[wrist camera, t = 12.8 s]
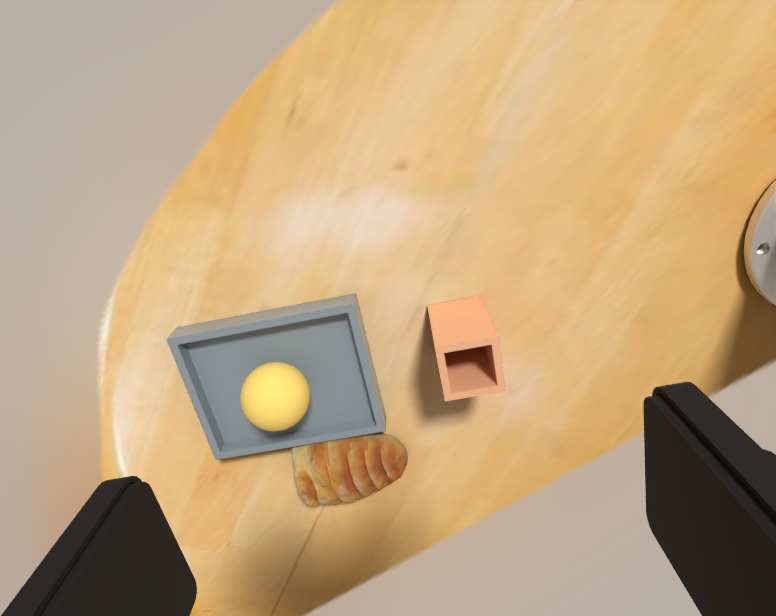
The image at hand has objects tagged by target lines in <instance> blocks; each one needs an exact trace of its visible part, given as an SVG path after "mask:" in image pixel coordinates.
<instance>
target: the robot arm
mask: <svg viewBox="0 0 776 616" xmlns="http://www.w3.org/2000/svg"><path fill="white" fill-rule="evenodd" d="M744 261H745V268H746V271H747V274H748V277H749V279H750V281H751V283H752V284H753V286H754V287H755V289H756V291H757V292H758V293H759V294H760V295H761V296H762V297H763V298H765V299H766V300H767V301H768V302H770V303H772V304H773V305H775V306H776V180H775V181H774V182H773V183H772V184H771V185H770V187H769V188H768V190H767V191H766V192H765V194H764V195H763V197H762V198H761V199H760V201H759V202H758V204H757V206H756V208H755V210H754V212H753V214H752V216H751V218H750V222H749V225H748V228H747V232H746V235H745V243H744ZM644 439H645V440H644V441H645V478H646V479H645V480H646V513H647V519H648V522H649V525H650V528H651V530H652V532H653V534H654V536H655V538H656V539H657V541H658V543H659V544H660V546H661V548H662V549H663V551H664V553H665V554H666V556H667V558H668V559H669V561H670V563H671V564H672V566H673V568H674V569H675V571H676V573H677V575H678V576H679V578H680V580H681V581H682V583H683V584H684V586H685V588H686V589H687V591H688V593H689V595H690V596H691V598H692V599H693V601H694V603H695V604H696V606H697V608H698V610H699V611H700V613H701V614H702V616H776V455H775V454H773V453H772V452H770V451H767V450H764V449H761V448H760V447H759V445H757V444H756V443H755V442H754V441H753V440H752V439H751V438H750V437H749V436H748V435H747V434H746V433H745V432H744V431H743V430H742V429H741V428H739V426H737V425H736V424H735V423H734V422H733V421H732V420H731V419H730V418H729V417H728V416H727V415H726V414H725V413H724V412H723V411H722V410H721V409H720V408H719V407H718V406H716V405H715V404H714V403H713V402H712V401H711V400H710V399H709V398H708V397H707V396H706V395H705V394H704V393H703V392H702V391H701V390H700V389H699V388H698V387H696V386H695V385H694V384H693V383H691V382H684V383H678V384H672V385H666V386H660V387H656V388H655V389H654V390H653V394H652V396H651V397H646V398H645V400H644ZM196 594H197V586H196V581H195V578H194V576H193V574H192V572H191V570H190V568H189V566H188V564H187V562H186V560H185V558H184V555H183V553H182V551H181V549H180V547H179V545H178V543H177V541H176V539H175V537H174V535H173V532H172V530H171V528H170V526H169V524H168V522H167V520H166V518H165V516H164V514H163V512H162V509H161V507H160V505H159V503H158V501H157V499H156V497H155V495H154V493H153V491H152V489H151V487H150V485H149V484H148V483H146V482H142V481H141V479H139V478H138V477H136V476H130V477H124V478H118V479H112V480H107V481H104V482H102V483H101V484H100V485H99V486H98V487H97V489H96V490H95V491H94V493H93V494H92V495H91V497H90V498H89V499H88V501H87V502H86V503H85V505H84V506H83V507H82V509H81V510H80V511H79V513H78V514H77V515H76V517H75V518H74V519H73V521H72V522H71V523H70V525H69V526H68V527H67V529H66V530H65V531H64V533H63V534H62V535H61V536H60V538H59V539H58V541H57V542H56V543H55V545H54V546H53V547H52V548H51V550H50V551H49V552H48V554H47V555H46V556H45V558H44V559H43V561H42V562H41V563H40V565H39V566H38V567H37V569H36V570H35V571H34V572H33V574H32V575H31V576H30V578H29V579H28V580H27V582H26V583H25V584H24V586H23V587H22V588H21V590H20V591H19V593H18V594H17V595H16V596H15V598H14V599H13V600H12V602H11V603H10V604H9V606H8V607H7V609H6V610H5V611H4V612H3V614H2V615H1V616H190V613H191V610H192V608H193V605H194V603H195V599H196Z"/></svg>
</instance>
